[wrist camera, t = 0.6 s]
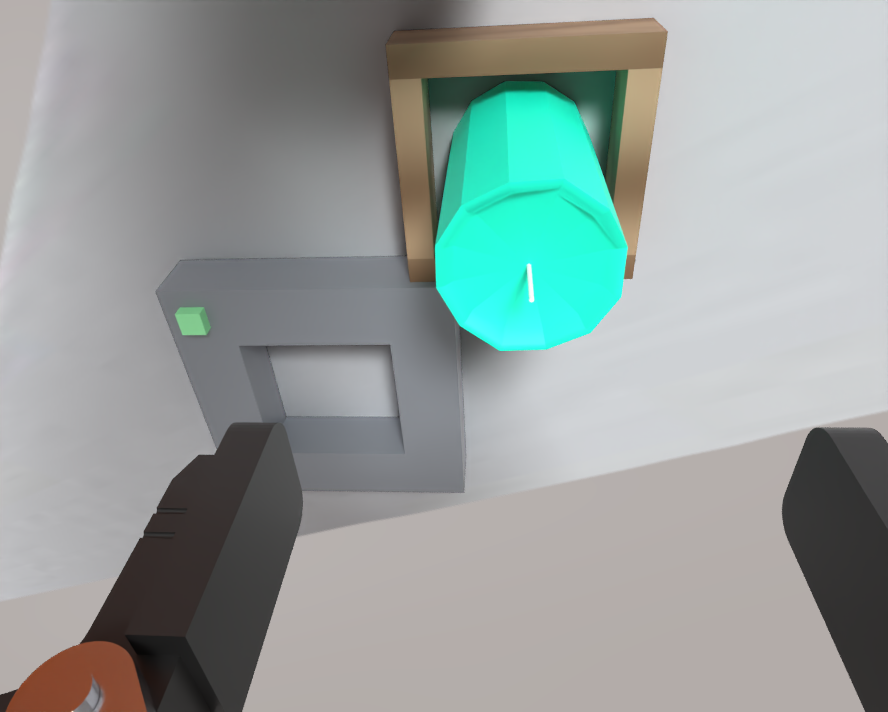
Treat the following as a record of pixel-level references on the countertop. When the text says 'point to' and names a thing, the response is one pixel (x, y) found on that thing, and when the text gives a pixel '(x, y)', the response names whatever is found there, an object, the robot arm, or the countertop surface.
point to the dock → (326, 323)
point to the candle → (527, 222)
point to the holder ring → (524, 52)
